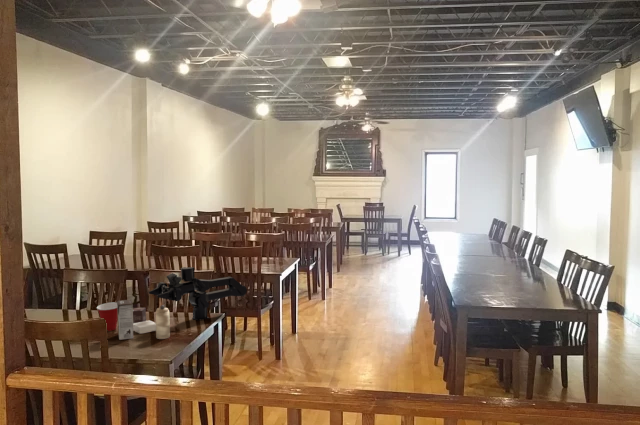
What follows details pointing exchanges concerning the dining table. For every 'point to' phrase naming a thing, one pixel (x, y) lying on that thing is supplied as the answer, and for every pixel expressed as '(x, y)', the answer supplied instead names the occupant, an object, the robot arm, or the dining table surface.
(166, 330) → the pepper mill
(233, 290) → the robot arm
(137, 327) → the stand
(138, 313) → the box
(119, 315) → the coffee box
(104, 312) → the plastic cup
